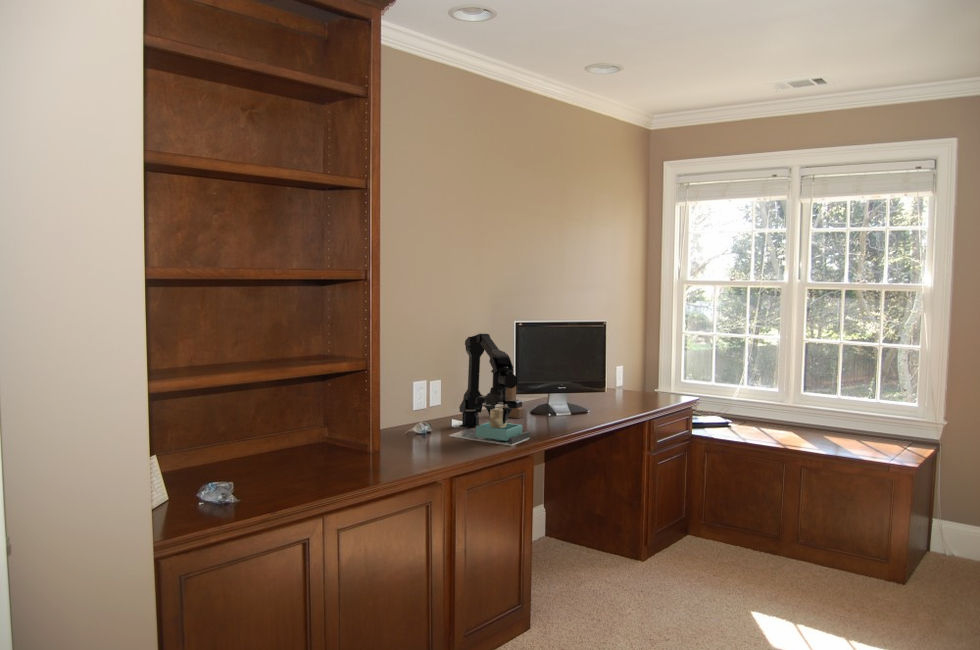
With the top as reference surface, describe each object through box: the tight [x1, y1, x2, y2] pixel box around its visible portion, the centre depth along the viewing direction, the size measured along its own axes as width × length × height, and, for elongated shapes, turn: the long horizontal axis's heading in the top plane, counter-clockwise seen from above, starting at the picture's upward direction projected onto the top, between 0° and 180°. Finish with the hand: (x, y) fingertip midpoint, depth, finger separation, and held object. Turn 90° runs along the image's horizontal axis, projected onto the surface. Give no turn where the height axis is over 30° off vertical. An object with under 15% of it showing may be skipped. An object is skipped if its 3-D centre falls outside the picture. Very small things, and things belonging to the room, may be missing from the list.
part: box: [489, 407, 508, 428], centre depth 309 cm, size 5×5×7 cm
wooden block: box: [502, 385, 525, 420], centre depth 360 cm, size 9×4×18 cm, turn 56°
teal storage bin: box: [475, 421, 523, 441], centre depth 309 cm, size 14×14×5 cm
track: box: [448, 428, 531, 447], centre depth 312 cm, size 29×16×3 cm, turn 61°
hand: (498, 422), depth 310 cm, fingers closed on part, 5 cm apart
